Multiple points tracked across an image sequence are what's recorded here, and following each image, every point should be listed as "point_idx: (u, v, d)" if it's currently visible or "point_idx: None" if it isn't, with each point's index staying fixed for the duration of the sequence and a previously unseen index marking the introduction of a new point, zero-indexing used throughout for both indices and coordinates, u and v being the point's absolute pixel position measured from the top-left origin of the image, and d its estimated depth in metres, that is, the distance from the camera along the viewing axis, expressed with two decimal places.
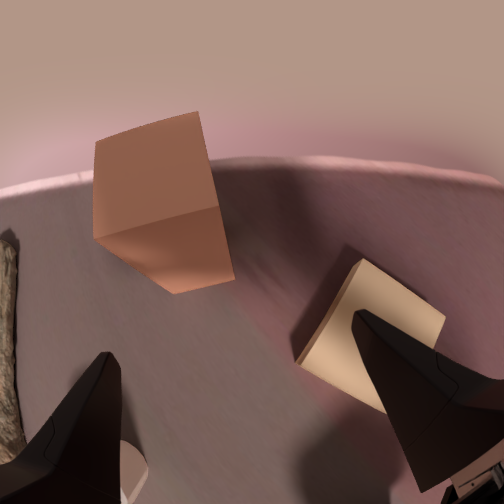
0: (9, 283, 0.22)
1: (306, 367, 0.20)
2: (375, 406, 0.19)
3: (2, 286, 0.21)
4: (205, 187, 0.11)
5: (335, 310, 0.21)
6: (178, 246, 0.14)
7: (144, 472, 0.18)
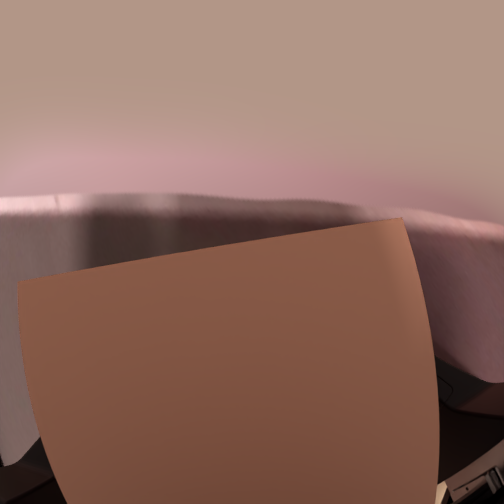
0: None
1: None
2: None
3: None
4: None
5: None
6: None
7: None
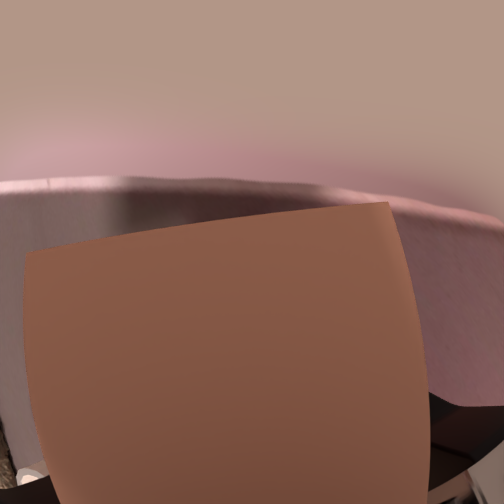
0: None
1: None
2: None
3: None
4: None
5: None
6: None
7: None
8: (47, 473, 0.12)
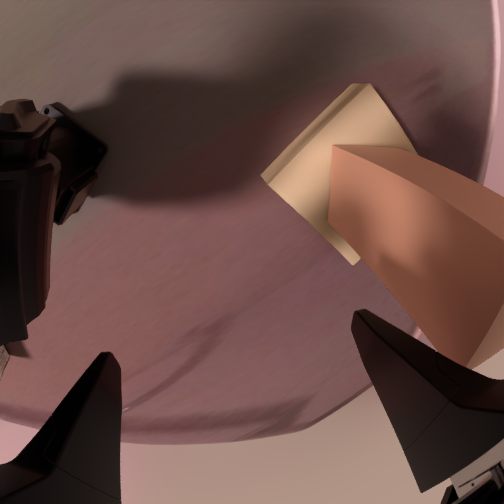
0: None
1: (366, 88, 0.15)
2: (296, 157, 0.17)
3: None
4: (474, 364, 0.08)
5: (406, 137, 0.18)
6: (435, 281, 0.10)
7: None
8: None
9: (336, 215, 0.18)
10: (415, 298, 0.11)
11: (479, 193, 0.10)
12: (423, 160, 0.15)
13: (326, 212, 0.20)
